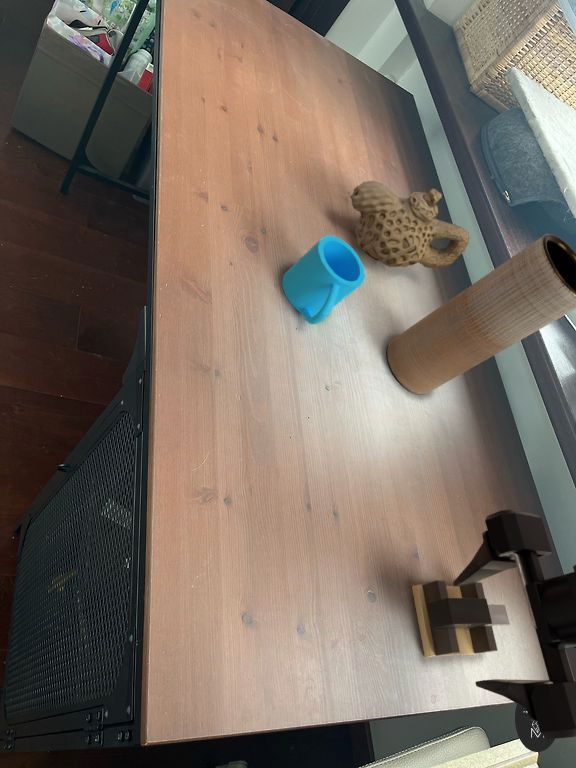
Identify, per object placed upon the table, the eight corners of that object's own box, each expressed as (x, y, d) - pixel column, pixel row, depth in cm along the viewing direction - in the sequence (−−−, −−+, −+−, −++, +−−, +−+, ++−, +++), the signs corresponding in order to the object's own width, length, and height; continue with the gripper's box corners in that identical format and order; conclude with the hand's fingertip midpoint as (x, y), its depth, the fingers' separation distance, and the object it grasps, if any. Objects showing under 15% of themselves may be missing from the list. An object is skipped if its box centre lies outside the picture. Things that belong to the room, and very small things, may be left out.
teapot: (322, 240, 97) (389, 177, 87) (328, 195, 104) (390, 132, 94) (419, 306, 106) (490, 256, 95) (419, 261, 113) (485, 210, 102)
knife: (430, 629, 69) (452, 624, 67) (425, 603, 71) (447, 597, 69) (506, 627, 77) (528, 623, 75) (500, 603, 79) (522, 599, 76)
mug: (285, 259, 89) (320, 225, 84) (329, 286, 93) (365, 255, 87) (276, 321, 82) (313, 288, 76) (323, 348, 86) (363, 318, 80)
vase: (436, 401, 96) (603, 310, 77) (391, 387, 91) (558, 285, 72) (425, 347, 101) (579, 249, 82) (381, 331, 96) (535, 221, 76)
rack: (464, 588, 81) (485, 582, 79) (479, 654, 77) (502, 650, 75) (411, 586, 76) (432, 580, 73) (424, 657, 72) (447, 653, 69)
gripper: (707, 720, 51) (541, 732, 61) (624, 501, 60) (492, 544, 70) (642, 733, 44) (469, 744, 55) (560, 486, 53) (426, 536, 64)
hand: (466, 632), depth 61 cm, fingers open, 9 cm apart
